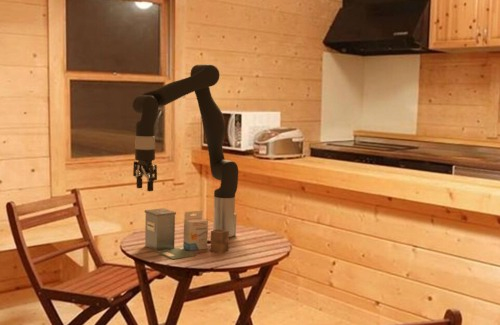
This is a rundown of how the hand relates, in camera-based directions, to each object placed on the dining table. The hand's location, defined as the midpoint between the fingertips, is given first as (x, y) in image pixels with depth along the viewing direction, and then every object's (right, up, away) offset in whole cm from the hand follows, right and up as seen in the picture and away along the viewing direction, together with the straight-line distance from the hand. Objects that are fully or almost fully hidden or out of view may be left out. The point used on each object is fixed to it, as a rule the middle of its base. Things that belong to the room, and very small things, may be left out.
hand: (144, 189), depth 224 cm
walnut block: (+29, -24, +5) cm, 38 cm away
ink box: (+19, -24, +7) cm, 31 cm away
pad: (+12, -25, -2) cm, 28 cm away
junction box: (+5, -23, +7) cm, 25 cm away
